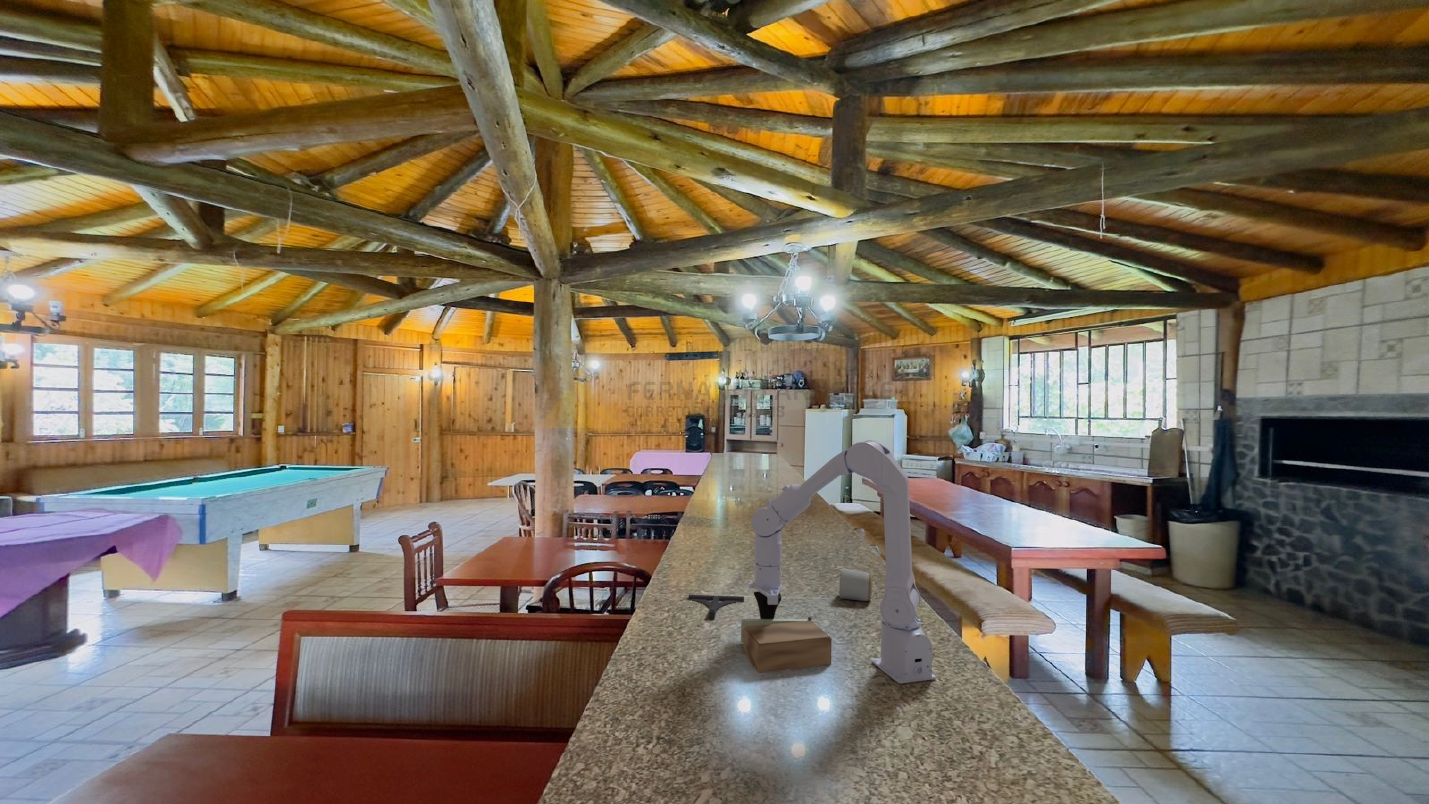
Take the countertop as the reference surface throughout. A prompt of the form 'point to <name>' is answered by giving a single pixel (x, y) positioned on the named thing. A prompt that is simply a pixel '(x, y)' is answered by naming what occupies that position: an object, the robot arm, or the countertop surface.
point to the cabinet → (786, 646)
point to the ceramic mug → (855, 585)
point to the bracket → (715, 602)
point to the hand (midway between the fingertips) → (766, 627)
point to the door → (763, 623)
